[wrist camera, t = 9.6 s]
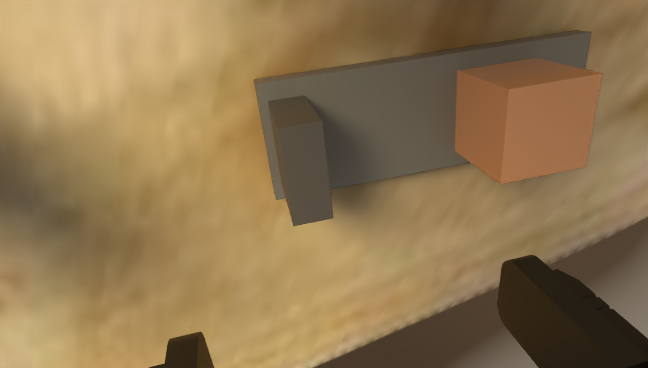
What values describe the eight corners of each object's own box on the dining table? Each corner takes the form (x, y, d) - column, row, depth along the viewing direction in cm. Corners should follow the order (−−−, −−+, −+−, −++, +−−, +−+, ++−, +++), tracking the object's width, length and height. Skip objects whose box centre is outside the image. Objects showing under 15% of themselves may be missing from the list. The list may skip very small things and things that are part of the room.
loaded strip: (274, 191, 26) (286, 245, 21) (253, 79, 23) (261, 108, 18) (560, 136, 29) (638, 171, 24) (576, 30, 26) (670, 41, 20)
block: (454, 151, 26) (500, 184, 22) (457, 70, 24) (508, 89, 20) (527, 137, 27) (585, 166, 23) (535, 57, 25) (602, 73, 20)
